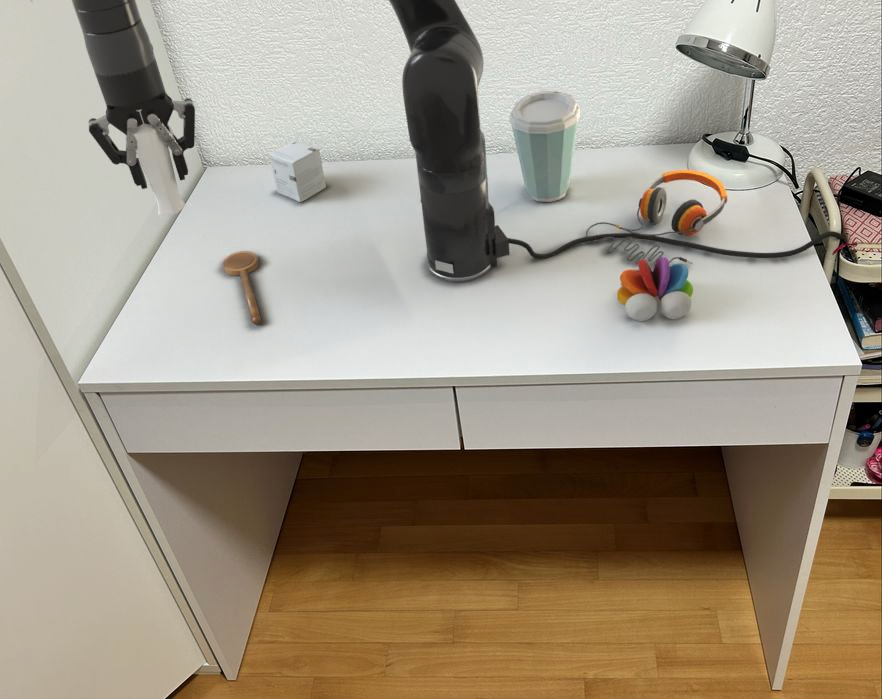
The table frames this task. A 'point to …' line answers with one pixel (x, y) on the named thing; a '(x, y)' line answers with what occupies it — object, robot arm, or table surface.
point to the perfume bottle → (158, 169)
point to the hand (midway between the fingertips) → (163, 181)
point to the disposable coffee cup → (545, 142)
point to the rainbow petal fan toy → (655, 290)
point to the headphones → (684, 219)
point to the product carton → (297, 170)
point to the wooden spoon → (244, 277)
